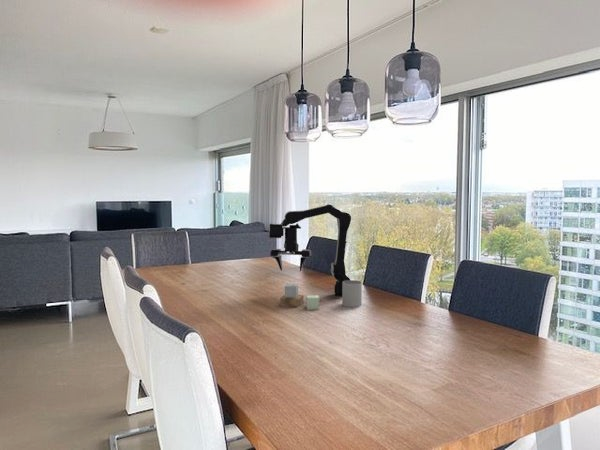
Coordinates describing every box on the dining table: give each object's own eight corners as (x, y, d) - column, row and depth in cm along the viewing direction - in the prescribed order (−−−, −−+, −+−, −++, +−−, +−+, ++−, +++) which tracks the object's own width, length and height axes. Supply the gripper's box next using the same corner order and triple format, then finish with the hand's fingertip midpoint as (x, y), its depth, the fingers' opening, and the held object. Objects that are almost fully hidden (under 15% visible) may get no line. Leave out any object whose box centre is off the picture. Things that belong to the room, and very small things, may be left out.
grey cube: (298, 295, 208) (298, 284, 208) (296, 297, 203) (296, 286, 203) (287, 294, 209) (287, 283, 209) (284, 297, 204) (284, 285, 204)
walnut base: (303, 303, 209) (303, 294, 209) (297, 308, 202) (297, 298, 201) (286, 302, 212) (286, 293, 211) (280, 306, 204) (280, 297, 204)
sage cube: (318, 306, 203) (318, 295, 203) (319, 309, 198) (319, 297, 198) (306, 306, 203) (306, 295, 203) (307, 309, 198) (307, 297, 198)
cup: (339, 305, 205) (339, 282, 204) (346, 301, 212) (346, 279, 211) (357, 307, 201) (357, 284, 200) (364, 303, 208) (364, 281, 207)
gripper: (312, 236, 227) (312, 268, 228) (275, 236, 230) (275, 267, 232) (309, 239, 216) (309, 272, 217) (270, 238, 219) (270, 271, 221)
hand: (290, 270), depth 222 cm, fingers open, 9 cm apart
